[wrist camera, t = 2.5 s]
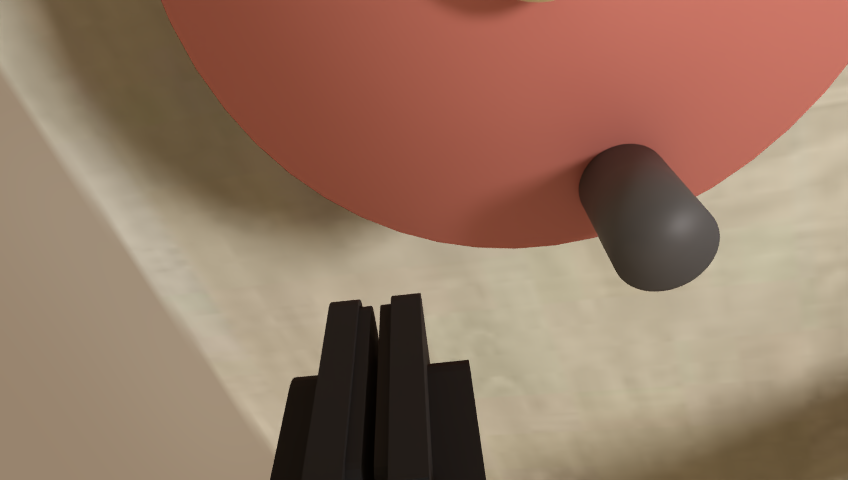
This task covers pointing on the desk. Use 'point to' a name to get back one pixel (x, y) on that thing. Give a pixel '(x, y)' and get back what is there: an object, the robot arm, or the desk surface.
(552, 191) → the handwheel
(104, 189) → the desk surface
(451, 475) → the robot arm
